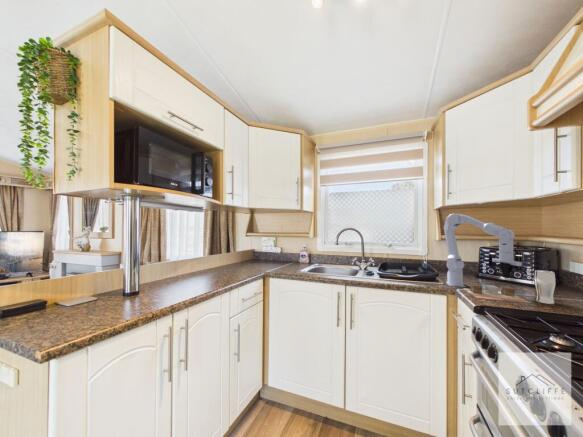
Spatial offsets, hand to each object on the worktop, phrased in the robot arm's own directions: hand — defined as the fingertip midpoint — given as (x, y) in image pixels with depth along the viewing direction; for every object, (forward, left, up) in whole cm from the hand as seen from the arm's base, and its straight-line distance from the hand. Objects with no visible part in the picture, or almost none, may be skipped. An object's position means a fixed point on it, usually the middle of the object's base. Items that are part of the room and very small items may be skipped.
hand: (506, 277), depth 127 cm
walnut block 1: (+1, -14, -9) cm, 17 cm away
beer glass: (+9, +11, -10) cm, 17 cm away
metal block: (+1, -7, -9) cm, 11 cm away
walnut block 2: (+1, 0, -9) cm, 9 cm away
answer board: (+3, -7, -9) cm, 12 cm away
